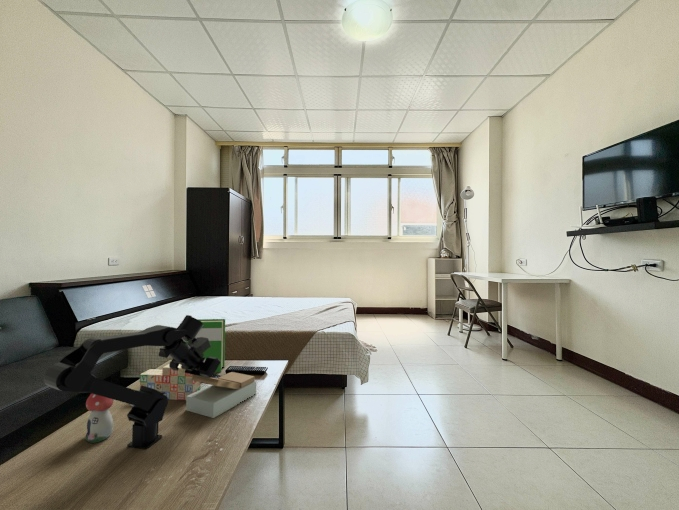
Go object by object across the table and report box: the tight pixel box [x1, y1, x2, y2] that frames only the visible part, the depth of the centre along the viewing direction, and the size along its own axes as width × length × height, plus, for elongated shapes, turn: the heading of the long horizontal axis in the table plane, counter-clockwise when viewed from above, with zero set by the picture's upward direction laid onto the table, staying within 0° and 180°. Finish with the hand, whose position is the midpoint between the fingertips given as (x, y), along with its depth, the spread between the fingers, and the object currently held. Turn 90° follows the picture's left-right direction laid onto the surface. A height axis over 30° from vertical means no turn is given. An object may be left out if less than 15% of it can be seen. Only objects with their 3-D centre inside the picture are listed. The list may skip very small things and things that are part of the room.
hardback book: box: [184, 318, 226, 373], centre depth 156 cm, size 18×7×24 cm, turn 97°
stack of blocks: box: [139, 363, 201, 401], centre depth 126 cm, size 21×6×12 cm, turn 86°
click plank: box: [192, 375, 240, 389], centre depth 118 cm, size 12×12×2 cm
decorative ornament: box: [84, 393, 114, 444], centre depth 97 cm, size 9×6×15 cm
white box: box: [185, 371, 257, 419], centre depth 121 cm, size 22×13×7 cm, turn 155°
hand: (207, 375), depth 114 cm, fingers closed
